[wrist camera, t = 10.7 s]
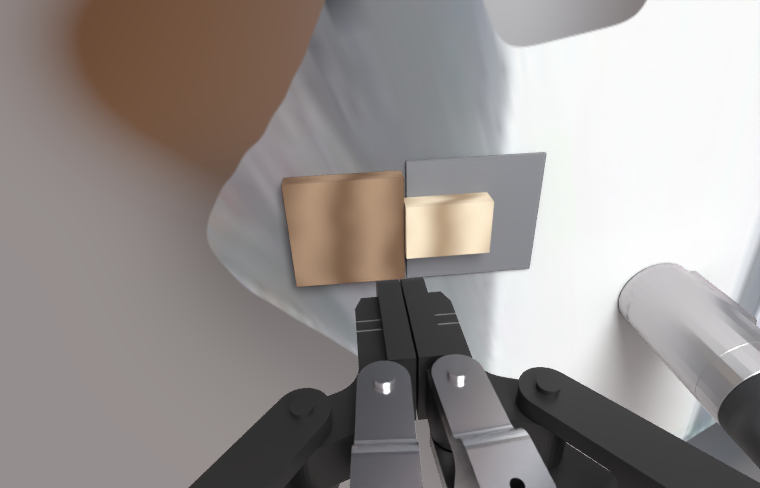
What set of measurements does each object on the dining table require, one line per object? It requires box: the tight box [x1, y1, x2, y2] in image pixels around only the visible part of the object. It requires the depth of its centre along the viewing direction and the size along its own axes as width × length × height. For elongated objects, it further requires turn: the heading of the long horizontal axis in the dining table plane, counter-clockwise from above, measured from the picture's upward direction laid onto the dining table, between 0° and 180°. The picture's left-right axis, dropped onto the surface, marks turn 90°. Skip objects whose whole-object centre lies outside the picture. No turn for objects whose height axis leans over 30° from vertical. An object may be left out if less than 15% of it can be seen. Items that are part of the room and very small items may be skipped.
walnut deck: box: [281, 170, 405, 287], centre depth 48 cm, size 12×12×2 cm
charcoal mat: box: [406, 152, 546, 278], centre depth 50 cm, size 14×14×1 cm
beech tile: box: [404, 192, 494, 259], centre depth 48 cm, size 9×6×2 cm, turn 92°
